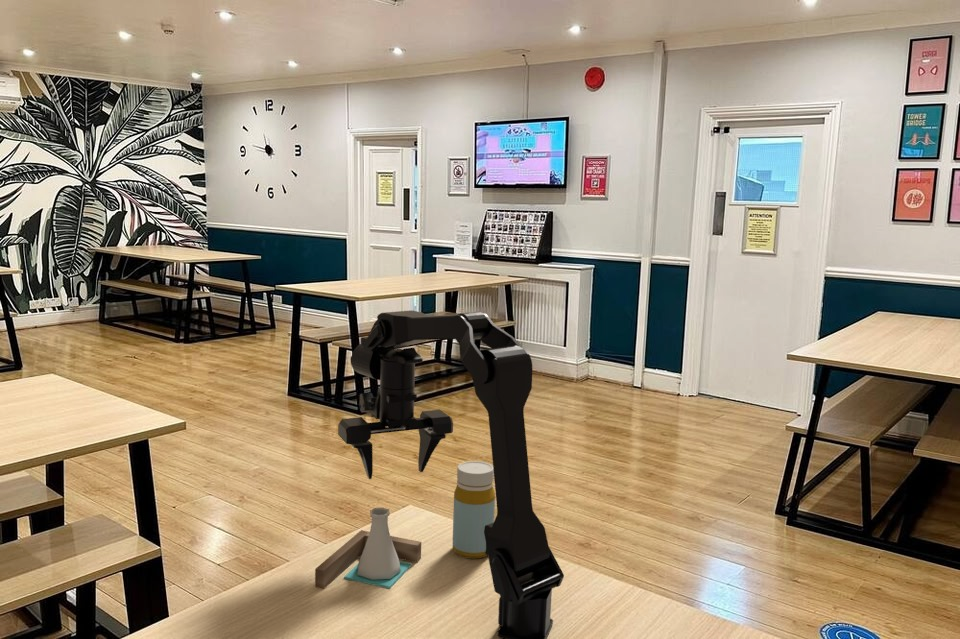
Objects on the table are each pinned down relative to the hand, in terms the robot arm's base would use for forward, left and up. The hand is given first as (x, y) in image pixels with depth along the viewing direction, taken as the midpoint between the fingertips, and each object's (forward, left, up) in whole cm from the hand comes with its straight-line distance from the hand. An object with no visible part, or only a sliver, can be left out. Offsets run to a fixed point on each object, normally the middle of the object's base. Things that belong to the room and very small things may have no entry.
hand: (395, 474), depth 125 cm
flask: (-2, +9, -13) cm, 16 cm away
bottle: (-13, -4, -13) cm, 19 cm away
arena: (-1, +10, -13) cm, 16 cm away
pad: (-2, +9, -13) cm, 16 cm away
